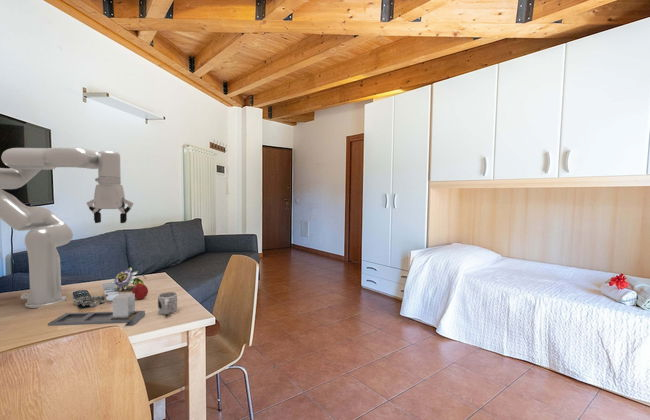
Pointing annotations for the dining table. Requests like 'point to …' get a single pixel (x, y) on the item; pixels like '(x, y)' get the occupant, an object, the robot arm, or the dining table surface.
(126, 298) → the block
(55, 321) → the rail
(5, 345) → the dining table surface
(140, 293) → the onion
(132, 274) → the passion flower
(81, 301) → the egg carton
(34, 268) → the robot arm
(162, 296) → the mug
